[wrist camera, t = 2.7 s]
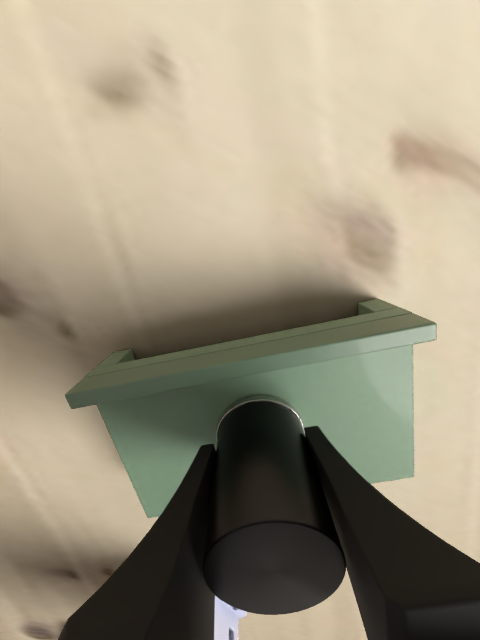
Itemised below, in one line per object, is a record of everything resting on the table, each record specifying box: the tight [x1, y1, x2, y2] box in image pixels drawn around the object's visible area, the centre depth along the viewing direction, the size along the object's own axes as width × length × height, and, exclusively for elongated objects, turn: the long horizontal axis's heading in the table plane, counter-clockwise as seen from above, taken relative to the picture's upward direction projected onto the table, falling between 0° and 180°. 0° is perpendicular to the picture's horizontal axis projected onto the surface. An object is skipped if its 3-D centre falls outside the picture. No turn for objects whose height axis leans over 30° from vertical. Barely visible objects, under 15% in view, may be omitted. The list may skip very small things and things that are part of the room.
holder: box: [203, 394, 346, 615], centre depth 11 cm, size 5×5×6 cm
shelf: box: [65, 299, 436, 518], centre depth 14 cm, size 10×16×4 cm, turn 102°
